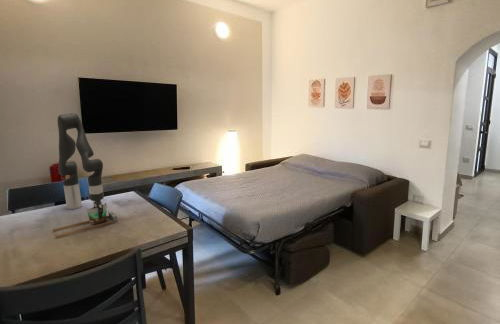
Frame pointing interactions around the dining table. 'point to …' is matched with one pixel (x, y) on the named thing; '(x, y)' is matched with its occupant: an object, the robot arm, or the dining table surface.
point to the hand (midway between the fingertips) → (99, 217)
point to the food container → (96, 214)
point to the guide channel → (111, 216)
